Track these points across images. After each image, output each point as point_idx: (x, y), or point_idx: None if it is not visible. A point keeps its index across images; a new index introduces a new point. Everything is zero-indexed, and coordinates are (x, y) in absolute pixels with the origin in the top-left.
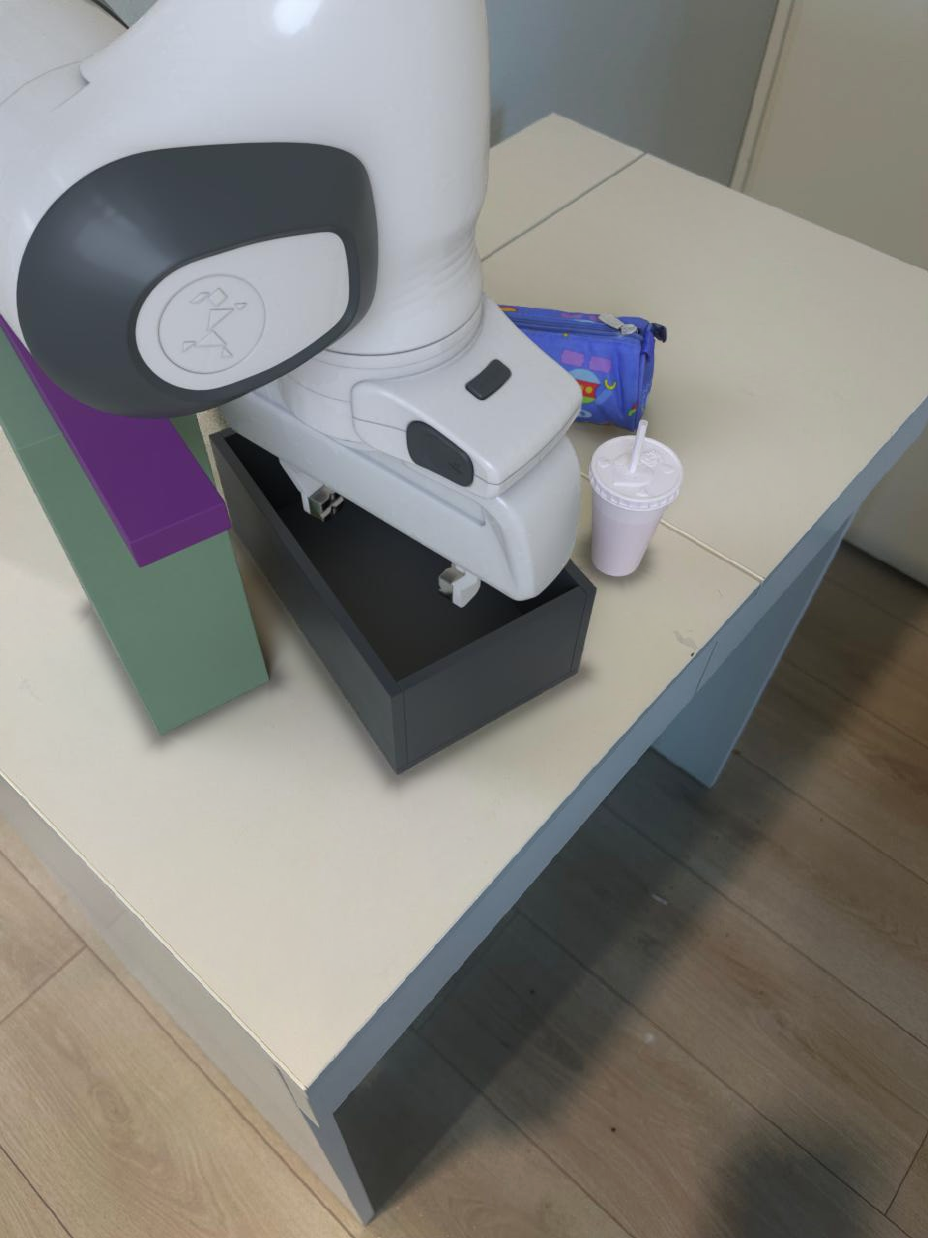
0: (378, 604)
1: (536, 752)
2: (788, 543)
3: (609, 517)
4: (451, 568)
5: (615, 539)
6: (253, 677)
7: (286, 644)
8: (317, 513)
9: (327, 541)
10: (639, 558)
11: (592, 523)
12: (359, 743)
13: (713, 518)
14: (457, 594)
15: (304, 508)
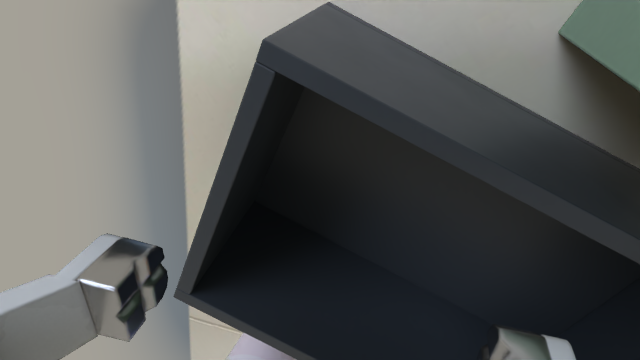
0: (464, 189)
1: (226, 106)
2: (191, 346)
3: (257, 357)
4: (113, 313)
5: None
6: (581, 16)
7: (559, 93)
8: (519, 349)
9: (571, 241)
10: None
11: None
12: (392, 15)
13: None
14: (77, 261)
15: (569, 350)
